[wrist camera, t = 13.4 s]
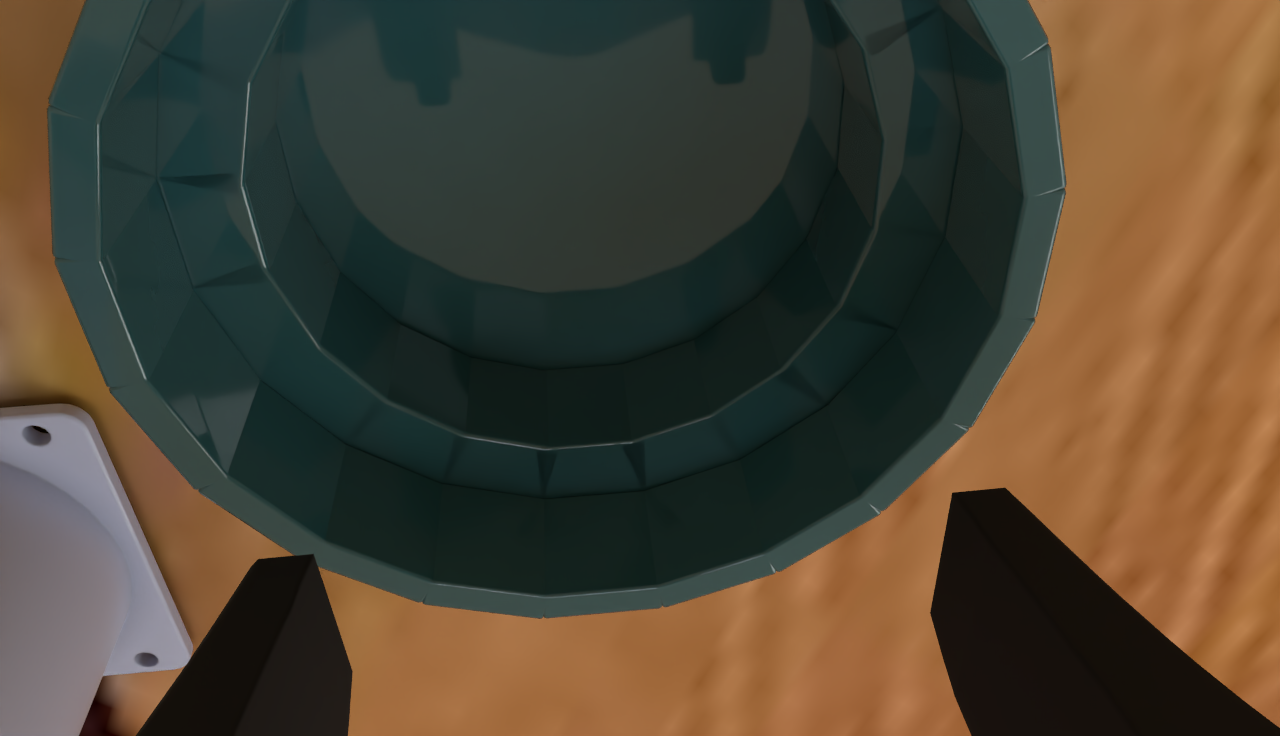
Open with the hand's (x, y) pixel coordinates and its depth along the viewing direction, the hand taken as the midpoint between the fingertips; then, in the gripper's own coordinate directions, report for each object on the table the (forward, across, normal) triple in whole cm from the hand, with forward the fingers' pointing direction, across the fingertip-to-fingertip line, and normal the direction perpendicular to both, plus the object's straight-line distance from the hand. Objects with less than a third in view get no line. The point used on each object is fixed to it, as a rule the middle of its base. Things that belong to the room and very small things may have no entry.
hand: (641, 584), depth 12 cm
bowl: (+9, 0, -2) cm, 9 cm away
